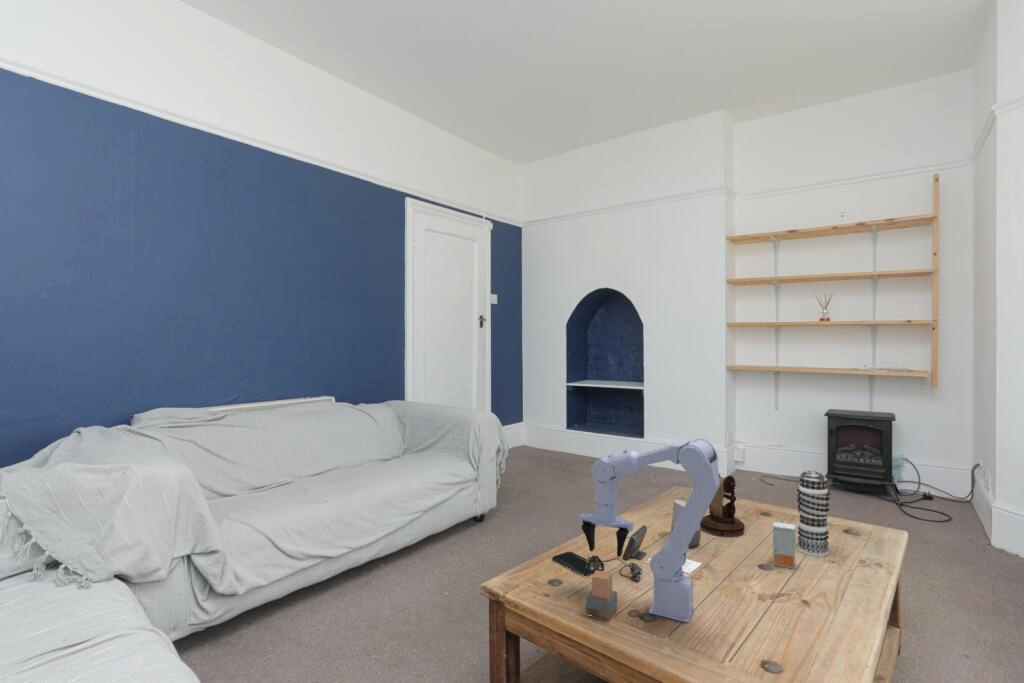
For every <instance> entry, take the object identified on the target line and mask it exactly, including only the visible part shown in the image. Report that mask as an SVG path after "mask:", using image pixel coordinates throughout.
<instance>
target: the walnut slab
mask: <svg viewBox="0 0 1024 683" xmlns="http://www.w3.org/2000/svg"><path fill="white" fill-rule="evenodd" d="M617 602H618V601H617ZM617 602H616V604H615V606H614V607H613V609H612V610H611V612H610V613H609V612H604V611H600V610H596V609H592V608H588V607H586V606H585V615H586V614H588V615H592V616H594V617H597V618H596V619H598V618H601V619H600V620H602V619H604V621H606V620H608V621H607V622H610V621H611V619H612V618H613V616H614V614H616V612H617V609H618V607H617V605H618V604H617ZM594 617H593V618H594Z"/></svg>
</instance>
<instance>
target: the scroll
mask: <svg viewBox="0 0 1024 683" xmlns="http://www.w3.org/2000/svg"><path fill="white" fill-rule="evenodd" d="M719 481H720V485H719V488H718V490H717V492H716V494H715V496H714V498H713V500H712V501H711V503H710V505H709V507H708V510H709V511H708V513H709V514H707V515H706V514H705V515H704V517H703V518H702V520H701V522H700V528H704V529H706V530H709V531H711V532H716V533H720V536H721V537H724V536H725V534H737V533H743V532H744V530H745V529H746V528H745V526H746V525H745V524H744V522H743V521H741V520H740V519H738V518H737V517H736V505H735V502H736V501H737V497H736V496H735V495H736V492H735V489H736V488H735V487H736V480H735V477H734V476H732V475H727V476H725V477H724V478H723V477H721V473H719ZM729 494H730V495H729ZM724 498H725V499H727V500H729V501H728V502H727V503H725V505H724Z"/></svg>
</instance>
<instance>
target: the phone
mask: <svg viewBox="0 0 1024 683" xmlns="http://www.w3.org/2000/svg"><path fill="white" fill-rule="evenodd" d="M551 557H552V561H553V560H554V561H556V562H558V563H560V564H562V565H564V566H566V567H568V568H570V569H571V570H570V569H569V570H570V571H572V570H573V571H572V572H574V571H575V572H574V573H576V572H577V573H576V574H578V573H579V574H581V575H584V576H587V575H590V574H594V573H595V571H590V570H588V569H587V568H586V565H587V561H588V560H589V559H587V558H585V557H583V556H580V555H579V554H577V553H574V552H572V551H565V552H563V553H559V554H556V555H553V556H551ZM554 561H553V562H554ZM556 562H555V563H556ZM558 563H557V564H558ZM560 564H559V565H560ZM562 565H561V566H562ZM564 566H563V567H564ZM566 567H565V568H566ZM568 568H567V569H568ZM579 574H578V575H579ZM581 575H580V576H581ZM584 576H583V577H584ZM590 576H591V575H590Z"/></svg>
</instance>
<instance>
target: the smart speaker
mask: <svg viewBox="0 0 1024 683" xmlns="http://www.w3.org/2000/svg"><path fill="white" fill-rule="evenodd" d="M686 503H687V501H685V500H684V501H683V500H681V499H673V507H672V516H671V525H670V526H671V528H670V533H671V532H672V530H673V528H674V526H675V524H676V522H677V520H678V518H679V516H680V514H681V513H682V511H683V509H684V507H685V505H686ZM701 534H702V533H701V525H700V524H699V526H698V528H697V530H696V532H695V534H694V535H693V537H692V539H691V541H690V543H689V545H688V546H689V548H693V547H696V546H698V545H699V543H700V541H701Z"/></svg>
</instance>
